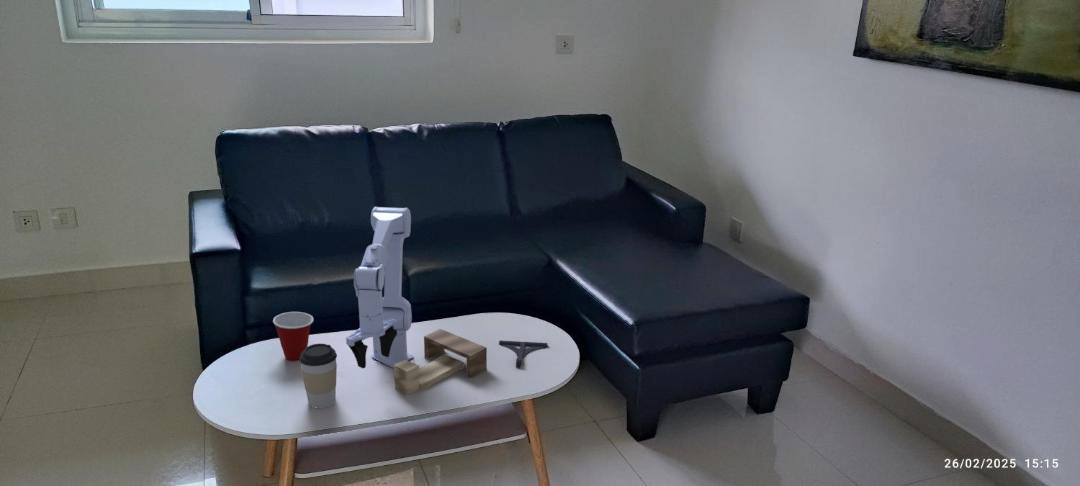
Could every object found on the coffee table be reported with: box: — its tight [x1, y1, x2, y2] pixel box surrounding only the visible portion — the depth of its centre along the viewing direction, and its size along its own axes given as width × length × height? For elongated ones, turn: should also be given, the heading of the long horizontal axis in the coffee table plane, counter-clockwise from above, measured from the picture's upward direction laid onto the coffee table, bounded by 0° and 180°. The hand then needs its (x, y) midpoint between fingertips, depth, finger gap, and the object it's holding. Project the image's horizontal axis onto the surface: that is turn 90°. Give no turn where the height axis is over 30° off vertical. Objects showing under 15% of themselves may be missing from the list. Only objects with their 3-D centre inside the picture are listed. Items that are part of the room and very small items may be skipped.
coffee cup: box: [299, 343, 338, 409], centre depth 186 cm, size 9×9×15 cm
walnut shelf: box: [423, 328, 488, 379], centre depth 208 cm, size 18×6×7 cm, turn 52°
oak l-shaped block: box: [393, 354, 465, 396], centre depth 200 cm, size 7×20×7 cm, turn 142°
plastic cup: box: [272, 311, 314, 362], centre depth 208 cm, size 11×11×12 cm
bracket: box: [498, 340, 549, 369], centre depth 214 cm, size 14×15×3 cm
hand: (373, 361), depth 187 cm, fingers open, 7 cm apart
